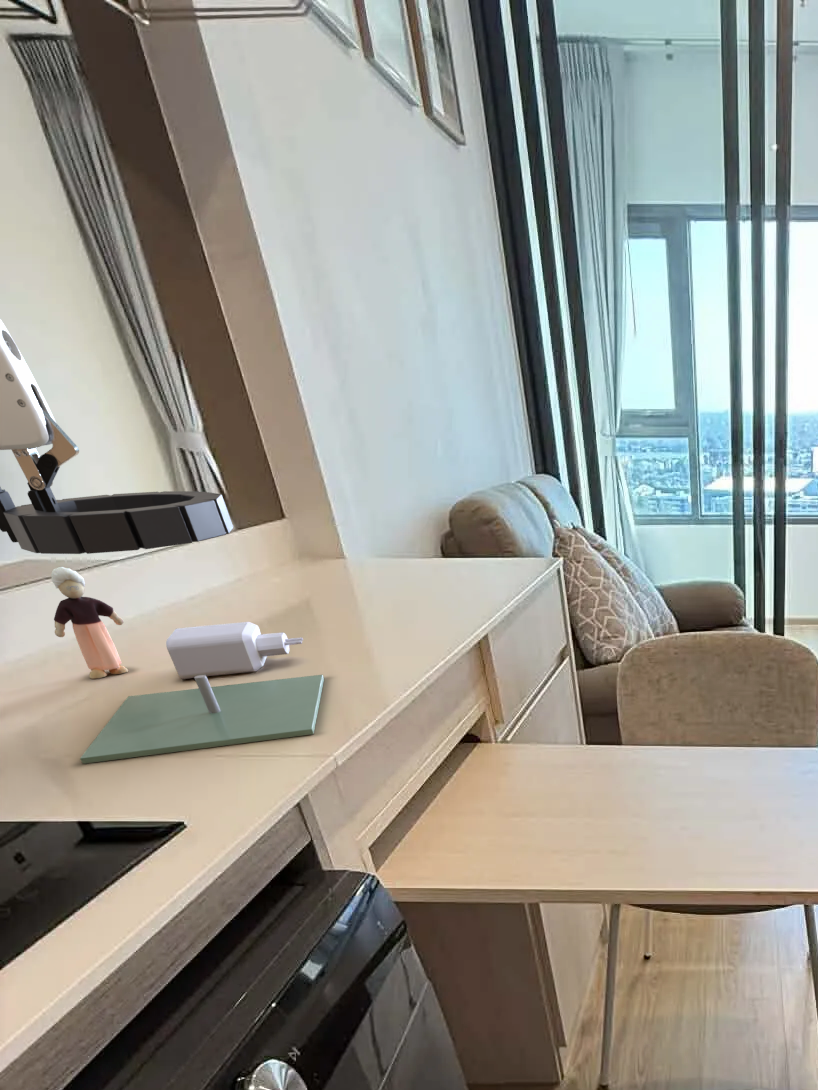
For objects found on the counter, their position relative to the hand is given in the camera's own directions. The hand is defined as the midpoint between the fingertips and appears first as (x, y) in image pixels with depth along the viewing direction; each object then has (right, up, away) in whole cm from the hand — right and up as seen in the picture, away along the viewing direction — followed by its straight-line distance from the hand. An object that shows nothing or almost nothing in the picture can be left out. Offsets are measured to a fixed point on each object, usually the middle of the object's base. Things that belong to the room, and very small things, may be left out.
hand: (39, 537), depth 81 cm
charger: (0, +1, +33) cm, 33 cm away
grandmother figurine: (-17, 0, +31) cm, 36 cm away
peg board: (+7, -12, +16) cm, 21 cm away
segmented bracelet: (+7, +1, +2) cm, 8 cm away
